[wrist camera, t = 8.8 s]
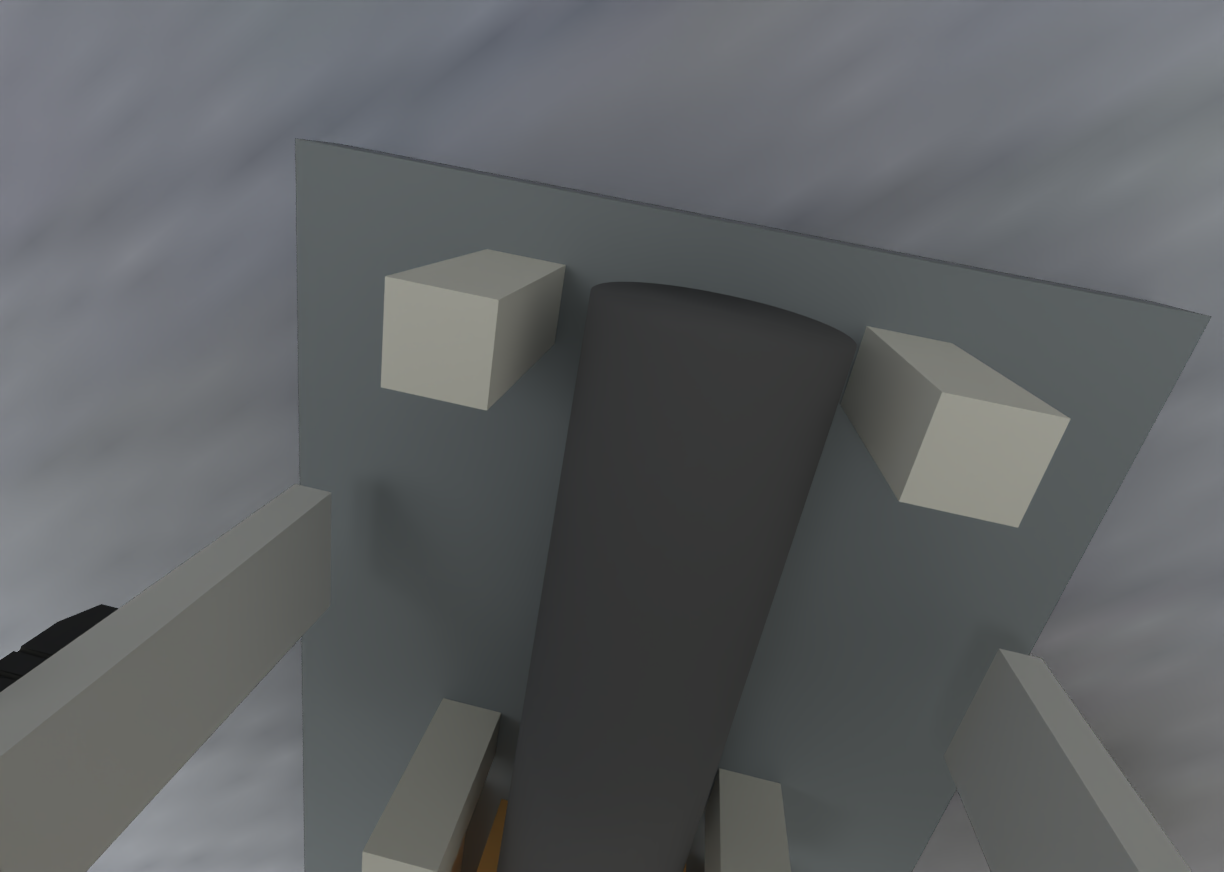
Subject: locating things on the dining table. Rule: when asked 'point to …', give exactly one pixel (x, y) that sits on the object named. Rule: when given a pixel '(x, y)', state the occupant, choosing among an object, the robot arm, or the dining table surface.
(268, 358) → the dining table surface
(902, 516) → the board
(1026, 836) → the robot arm
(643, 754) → the rod
